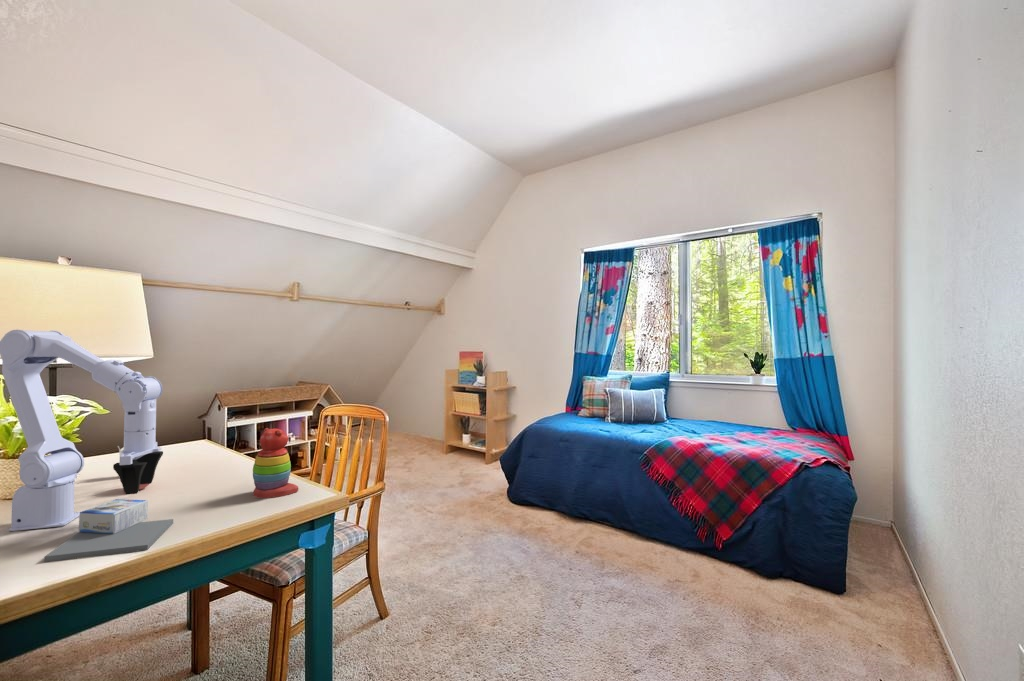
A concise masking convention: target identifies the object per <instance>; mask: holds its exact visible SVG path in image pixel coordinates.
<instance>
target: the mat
mask: <svg viewBox="0 0 1024 681" xmlns="http://www.w3.org/2000/svg"><path fill="white" fill-rule="evenodd" d="M173 524H174V519H173V518H171V519H160V520H152V521H151V520H149V521H142V522H140V523H137V524H135V525H133V526H131V527H128V528H126V529H124V530H122V531H119V532H117V533H114V534H111V533H90V532H77V533H76V534H74V535H73V536H71V537H70V538H68V539H67V540H66V541H65V542H63V543H62V544H60V545H58V546H57V547H56V548H54V549H53V550H52V551H50V552H49V553H47V554H46V555H44V556H43V557H44V558H43V562H45V563H46V562H54V561H63V560H71V559H82V558H88V557H97V556H98V557H99V556H106V555H114V554H116V555H117V554H123V553H132V552H140V551H149V549H150V548H151V547H152V546H153V545H154V544H156V542H157V541H158V540H159V539H160V538H161V537H162V535H164V534H165V533H166V532H167V531H168V530H169V529H170V528H171V526H172V525H173Z"/></svg>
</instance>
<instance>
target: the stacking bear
mask: <svg viewBox="0 0 1024 681" xmlns="http://www.w3.org/2000/svg"><path fill="white" fill-rule="evenodd" d="M288 443H289V436H288V435H287V434H286V432H285V431H284V430H283V429H279V428H268V427H266V428H264V429H263V430H262V434H260V437H259V445H260V448H261V449H260V450H259V451H258V452H257V455H256V456H255V458H254V459H255V460H254V464H253V468H252V478H253V484H254V486H255V487H254V489H253V491H252V492H253V493H252V495H253V496H254V497H255V498H259V499H268V498H269V499H270V498H278V497H283V496H288V495H291V494H295V493H297V492H298V491H299V489H300V488H299V486H298V485H297V484H294V483H291V482H290V483H289V479H290V476H291V470H292V469H291V467H292V464H291V460H290V455H289V451H288V449H287V448H286V446H287V445H288Z"/></svg>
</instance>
